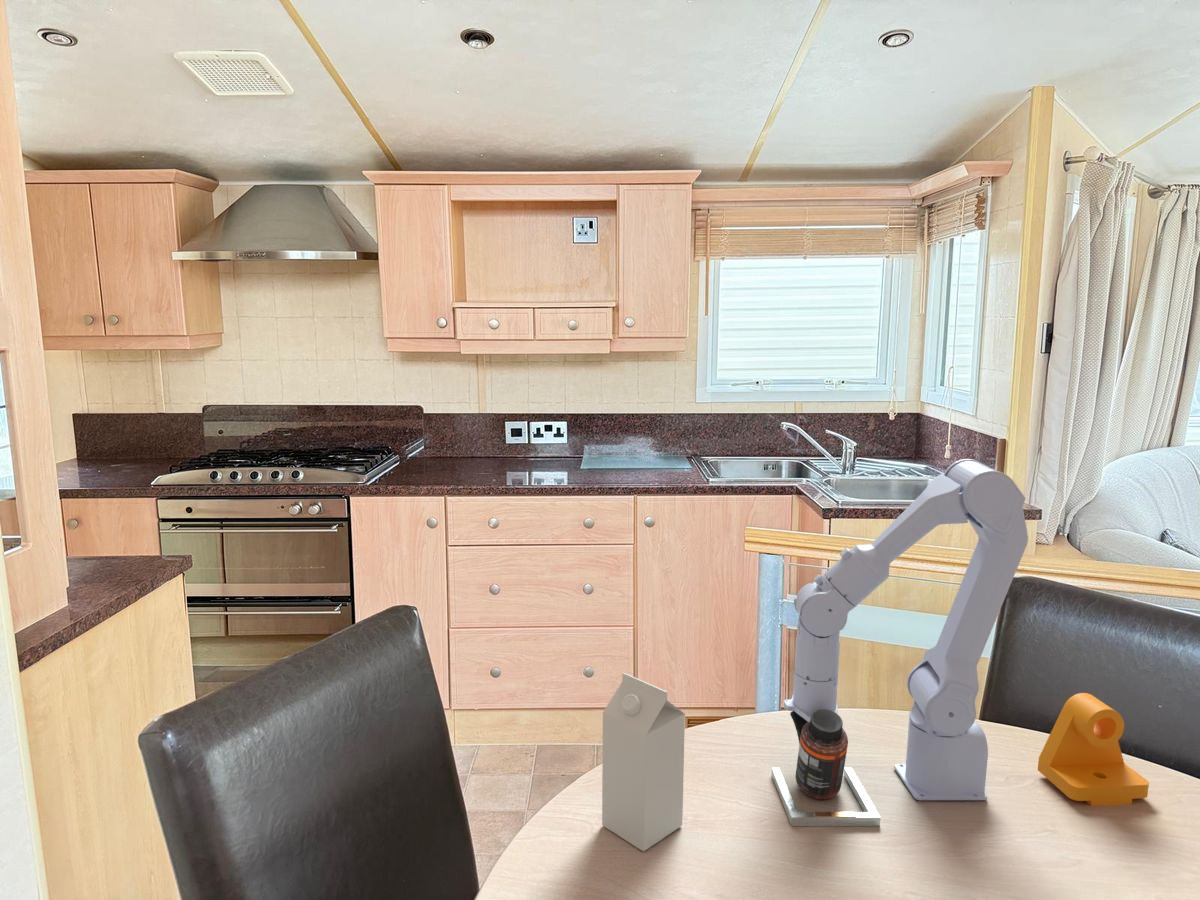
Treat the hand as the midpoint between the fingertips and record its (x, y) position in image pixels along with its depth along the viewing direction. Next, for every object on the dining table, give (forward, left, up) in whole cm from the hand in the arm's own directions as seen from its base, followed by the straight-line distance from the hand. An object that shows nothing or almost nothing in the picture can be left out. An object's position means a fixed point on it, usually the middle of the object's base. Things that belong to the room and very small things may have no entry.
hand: (810, 765), depth 108 cm
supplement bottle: (0, +3, -1) cm, 3 cm away
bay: (0, +5, -2) cm, 5 cm away
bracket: (-37, +3, -2) cm, 37 cm away
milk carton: (+24, +11, -2) cm, 26 cm away
